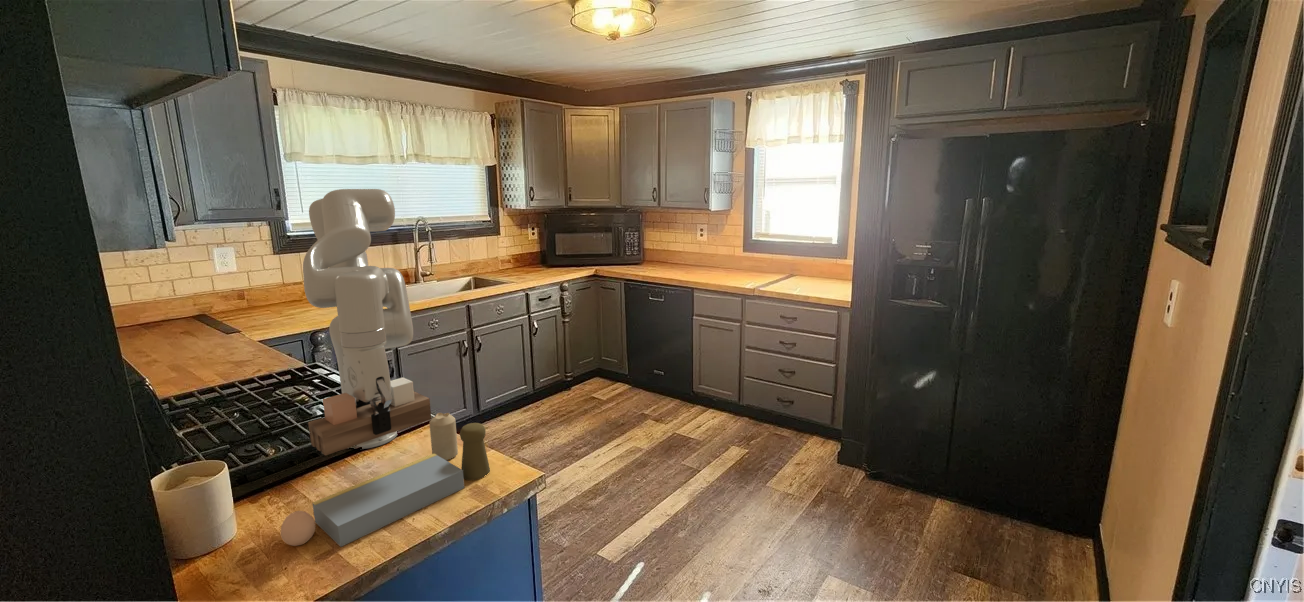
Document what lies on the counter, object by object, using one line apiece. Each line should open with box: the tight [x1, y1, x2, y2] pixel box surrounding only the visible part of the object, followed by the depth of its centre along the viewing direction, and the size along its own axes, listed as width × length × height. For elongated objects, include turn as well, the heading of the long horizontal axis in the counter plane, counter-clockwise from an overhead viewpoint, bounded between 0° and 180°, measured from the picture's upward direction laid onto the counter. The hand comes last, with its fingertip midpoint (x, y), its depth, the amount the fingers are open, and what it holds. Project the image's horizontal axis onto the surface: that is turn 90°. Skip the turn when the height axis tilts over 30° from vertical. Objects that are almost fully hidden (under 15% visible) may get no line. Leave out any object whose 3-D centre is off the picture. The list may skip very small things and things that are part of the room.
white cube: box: [390, 377, 415, 407], centre depth 110 cm, size 4×4×4 cm
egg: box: [280, 510, 316, 547], centre depth 95 cm, size 5×5×6 cm
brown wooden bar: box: [307, 391, 432, 456], centre depth 107 cm, size 6×20×4 cm, turn 140°
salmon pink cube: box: [322, 393, 357, 425], centre depth 102 cm, size 4×4×4 cm
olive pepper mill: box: [459, 422, 491, 481], centre depth 118 cm, size 6×6×11 cm
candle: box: [429, 412, 459, 461], centre depth 125 cm, size 6×6×10 cm
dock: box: [312, 453, 465, 548], centre depth 107 cm, size 11×24×4 cm, turn 141°
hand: (373, 426), depth 107 cm, fingers closed on brown wooden bar, 6 cm apart
